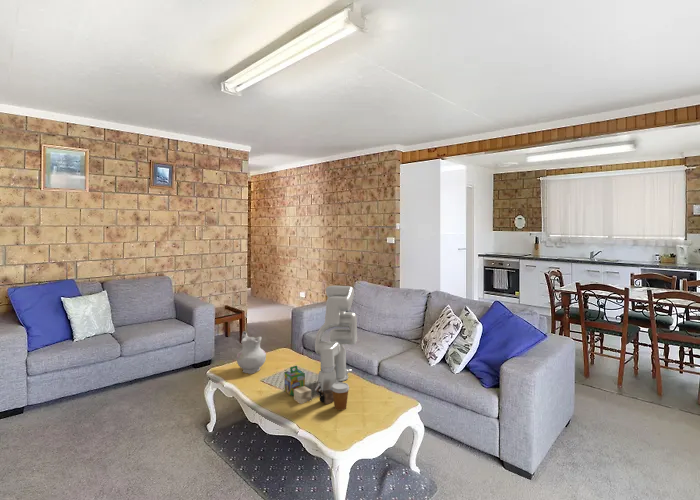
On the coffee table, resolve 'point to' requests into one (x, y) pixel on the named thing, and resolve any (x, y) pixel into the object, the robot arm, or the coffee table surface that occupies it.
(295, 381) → the chalk box
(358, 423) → the coffee table surface
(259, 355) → the ceramic pitcher
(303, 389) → the maple block
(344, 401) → the disposable coffee cup
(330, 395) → the walnut block
